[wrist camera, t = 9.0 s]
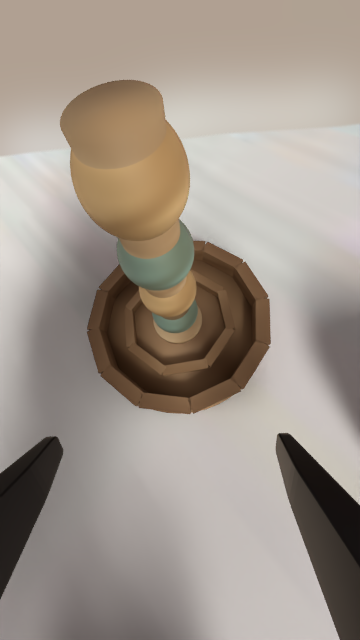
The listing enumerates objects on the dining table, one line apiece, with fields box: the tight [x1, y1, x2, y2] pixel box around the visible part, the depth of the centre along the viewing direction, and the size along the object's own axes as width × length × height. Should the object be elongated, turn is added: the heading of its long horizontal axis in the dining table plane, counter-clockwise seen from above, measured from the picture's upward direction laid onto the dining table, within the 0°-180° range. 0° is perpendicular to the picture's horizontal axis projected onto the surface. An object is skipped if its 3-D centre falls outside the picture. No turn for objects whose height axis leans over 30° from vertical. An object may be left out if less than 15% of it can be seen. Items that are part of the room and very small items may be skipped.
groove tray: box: [87, 241, 271, 414], centre depth 18 cm, size 14×14×2 cm
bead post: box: [60, 80, 202, 344], centre depth 12 cm, size 4×4×14 cm
